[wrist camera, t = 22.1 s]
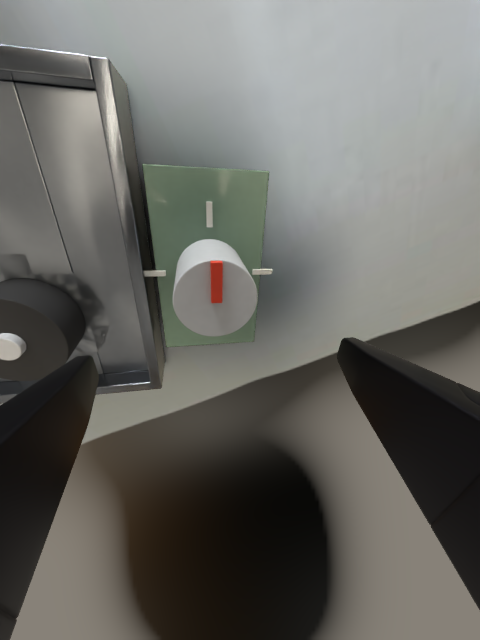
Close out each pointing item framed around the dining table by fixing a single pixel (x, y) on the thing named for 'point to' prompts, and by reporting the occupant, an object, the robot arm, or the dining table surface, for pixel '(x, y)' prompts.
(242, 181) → the panel
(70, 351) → the stopper
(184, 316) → the tap knob
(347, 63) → the dining table surface
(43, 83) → the grey metal tray
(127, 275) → the sink
